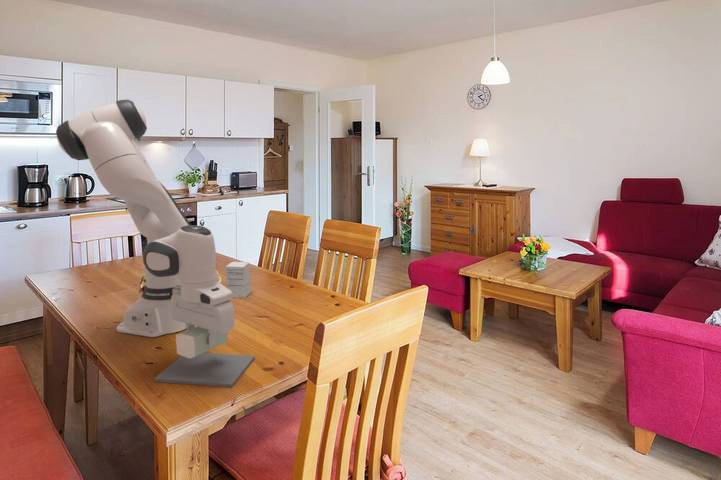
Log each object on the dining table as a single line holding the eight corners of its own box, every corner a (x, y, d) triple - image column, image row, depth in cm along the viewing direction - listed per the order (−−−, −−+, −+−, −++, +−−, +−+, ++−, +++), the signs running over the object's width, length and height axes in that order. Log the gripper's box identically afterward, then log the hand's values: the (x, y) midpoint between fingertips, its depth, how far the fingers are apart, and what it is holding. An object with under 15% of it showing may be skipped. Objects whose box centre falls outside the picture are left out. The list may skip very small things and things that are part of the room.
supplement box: (233, 292, 189) (231, 261, 187) (251, 292, 189) (250, 262, 186) (226, 297, 182) (224, 266, 180) (245, 298, 181) (243, 266, 179)
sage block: (214, 337, 128) (177, 353, 118) (213, 320, 127) (175, 335, 117) (227, 341, 125) (190, 358, 115) (226, 324, 124) (189, 339, 114)
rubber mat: (154, 381, 116) (154, 378, 116) (186, 354, 132) (186, 351, 132) (231, 387, 114) (231, 384, 114) (254, 358, 129) (254, 355, 129)
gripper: (162, 286, 121) (166, 337, 124) (217, 300, 111) (220, 355, 113) (182, 281, 126) (186, 329, 129) (237, 293, 116) (239, 346, 118)
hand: (202, 341), depth 121 cm, fingers closed on sage block, 5 cm apart
